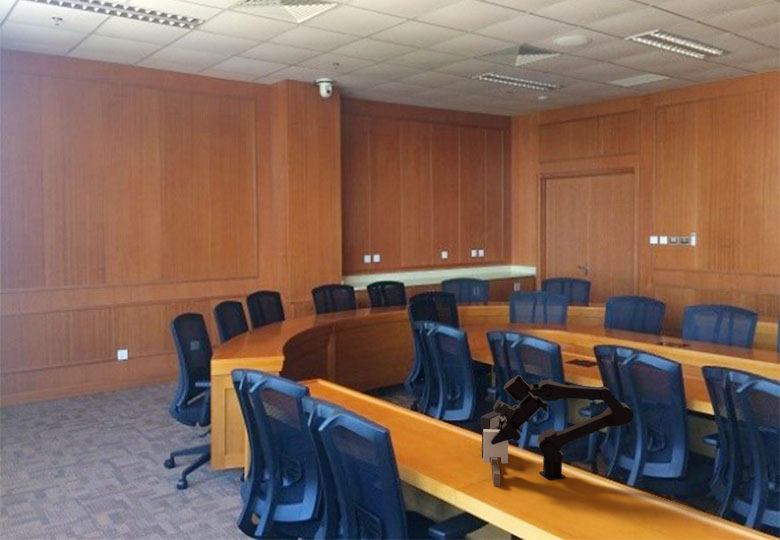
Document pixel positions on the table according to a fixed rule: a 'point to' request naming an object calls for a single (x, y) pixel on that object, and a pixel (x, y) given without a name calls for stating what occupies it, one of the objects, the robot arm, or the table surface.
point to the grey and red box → (489, 423)
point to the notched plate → (494, 447)
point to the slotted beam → (495, 471)
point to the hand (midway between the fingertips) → (491, 442)
